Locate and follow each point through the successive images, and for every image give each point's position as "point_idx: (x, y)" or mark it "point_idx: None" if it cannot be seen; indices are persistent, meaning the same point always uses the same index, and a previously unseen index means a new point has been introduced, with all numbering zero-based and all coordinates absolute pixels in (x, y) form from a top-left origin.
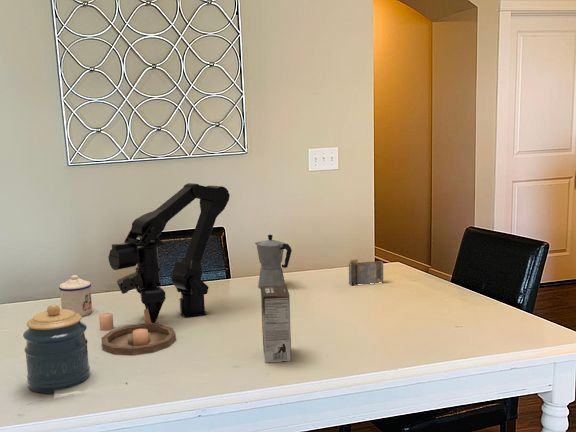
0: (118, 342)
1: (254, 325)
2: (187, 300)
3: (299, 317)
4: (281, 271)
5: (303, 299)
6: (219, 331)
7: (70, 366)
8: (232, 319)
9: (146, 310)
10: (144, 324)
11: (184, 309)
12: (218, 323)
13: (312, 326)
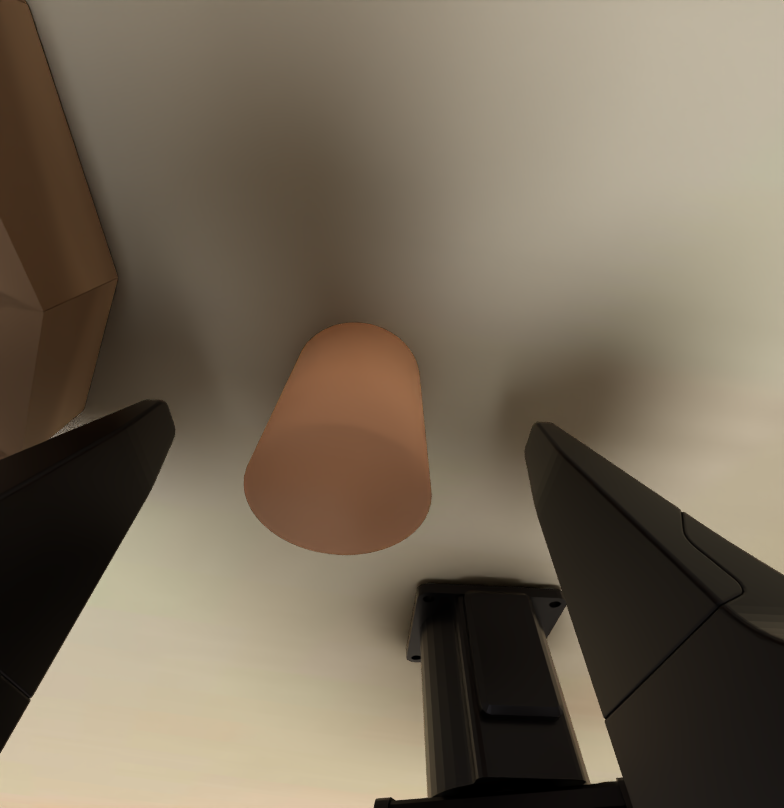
0: None
1: (171, 711)
2: (451, 727)
3: (230, 772)
4: None
5: None
6: (102, 636)
7: None
8: (281, 689)
9: (320, 452)
10: (32, 314)
11: (457, 633)
12: (238, 653)
13: (128, 770)
